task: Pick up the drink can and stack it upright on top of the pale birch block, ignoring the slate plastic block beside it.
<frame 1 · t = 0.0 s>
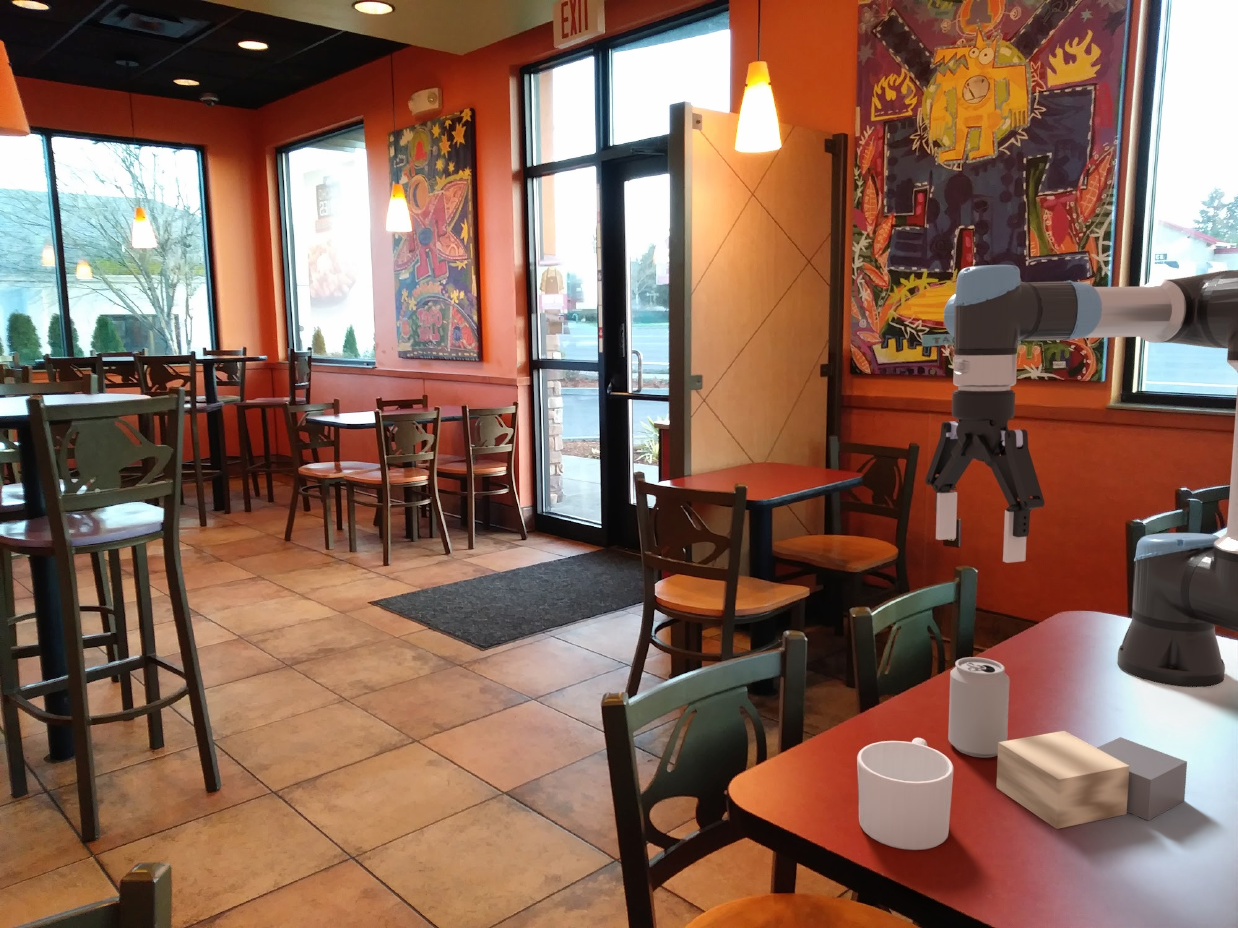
hand: (978, 549, 118), 28 cm above the table, fingers open, 13 cm apart
birch block: (1059, 800, 108), on the table
can: (976, 748, 122), on the table
slate block: (1132, 796, 109), on the table
mug: (906, 822, 105), on the table
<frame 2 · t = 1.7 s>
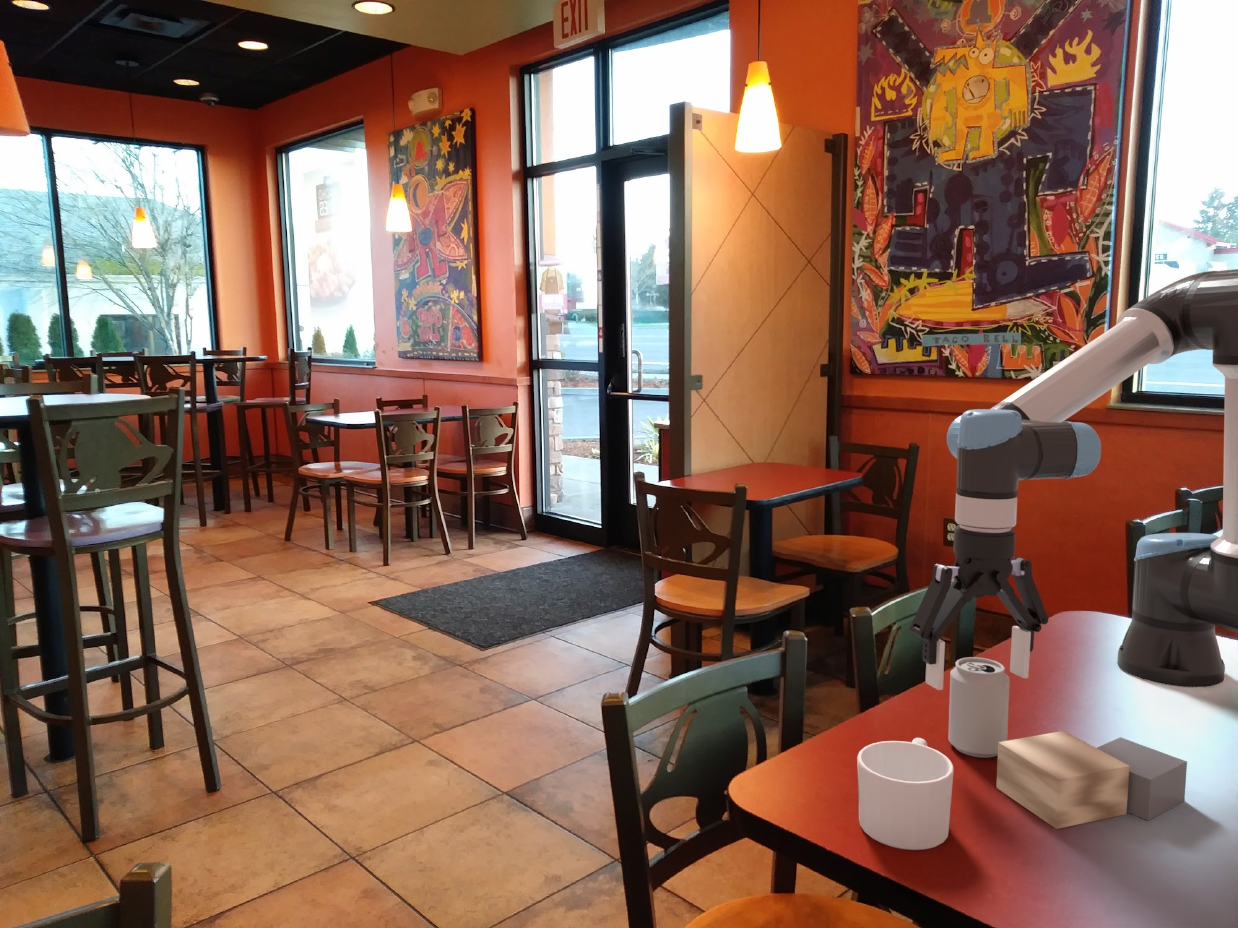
hand: (977, 680, 121), 10 cm above the table, fingers open, 13 cm apart
nothing on the table moved.
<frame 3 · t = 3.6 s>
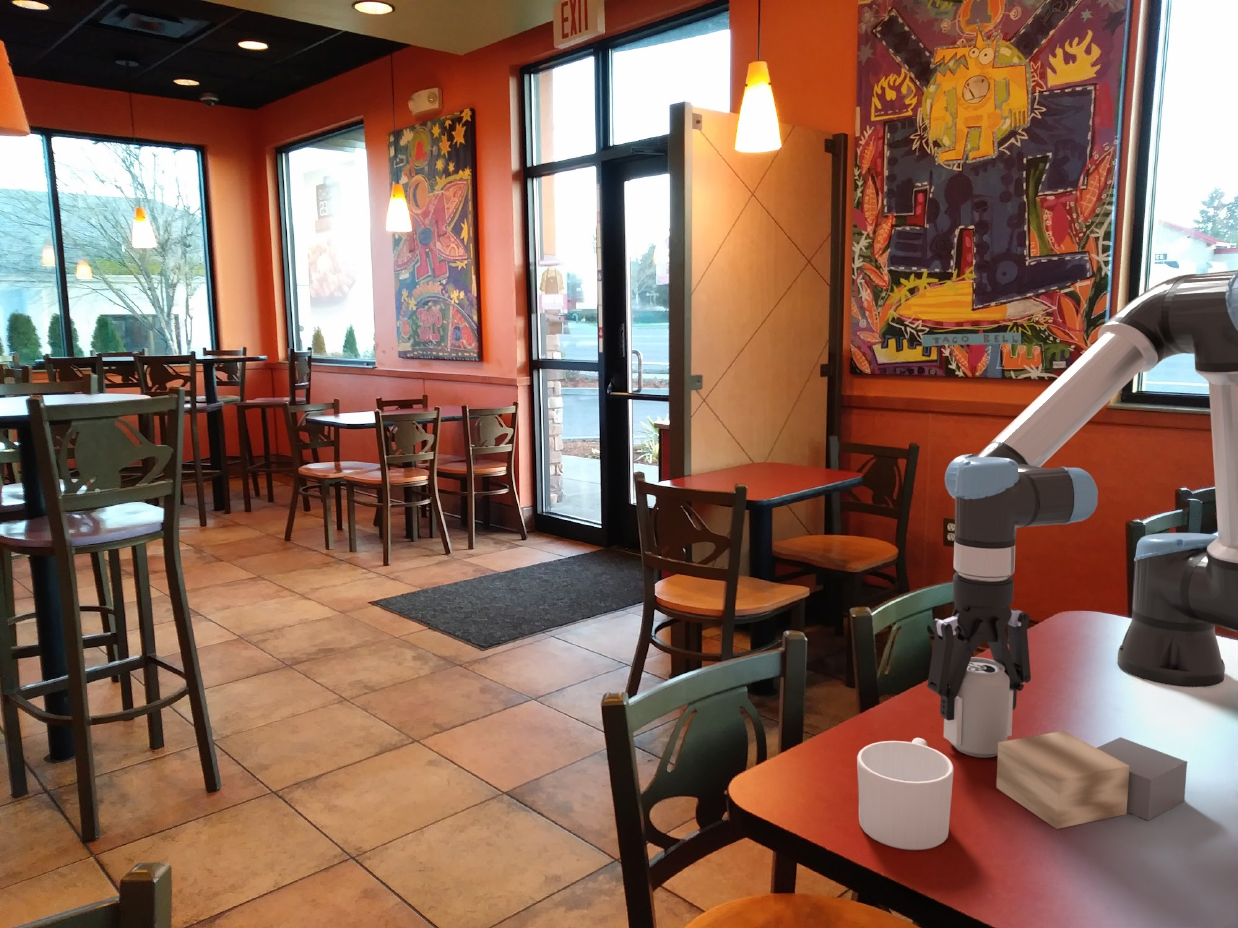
hand: (977, 736, 122), 2 cm above the table, fingers closed on can, 7 cm apart
can: (977, 748, 122), on the table, touching gripper
everything else where it was.
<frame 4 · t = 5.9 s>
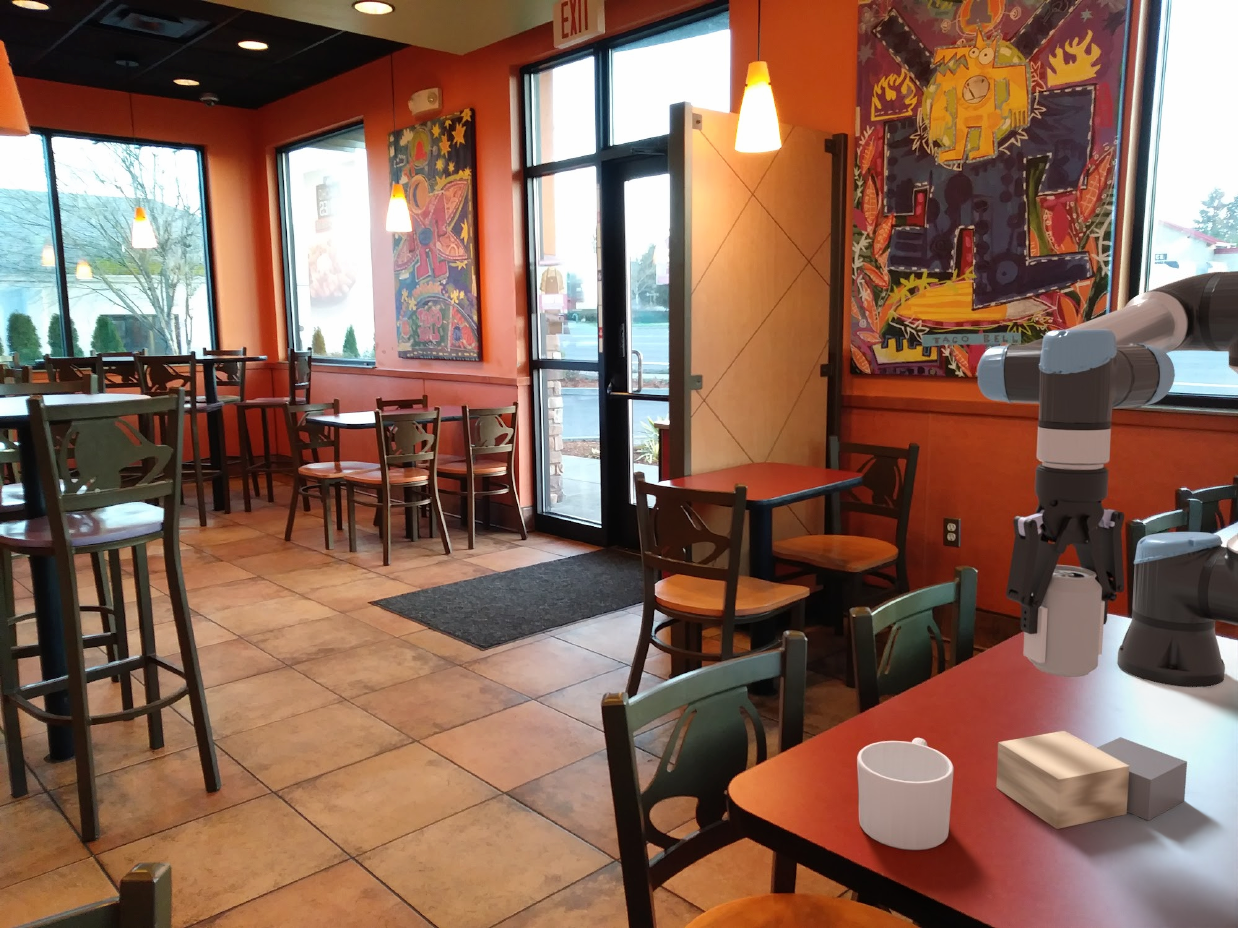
hand: (1062, 654, 106), 18 cm above the table, fingers closed on can, 7 cm apart
can: (1061, 669, 106), point 16 cm above the table, touching gripper
everything else where it was.
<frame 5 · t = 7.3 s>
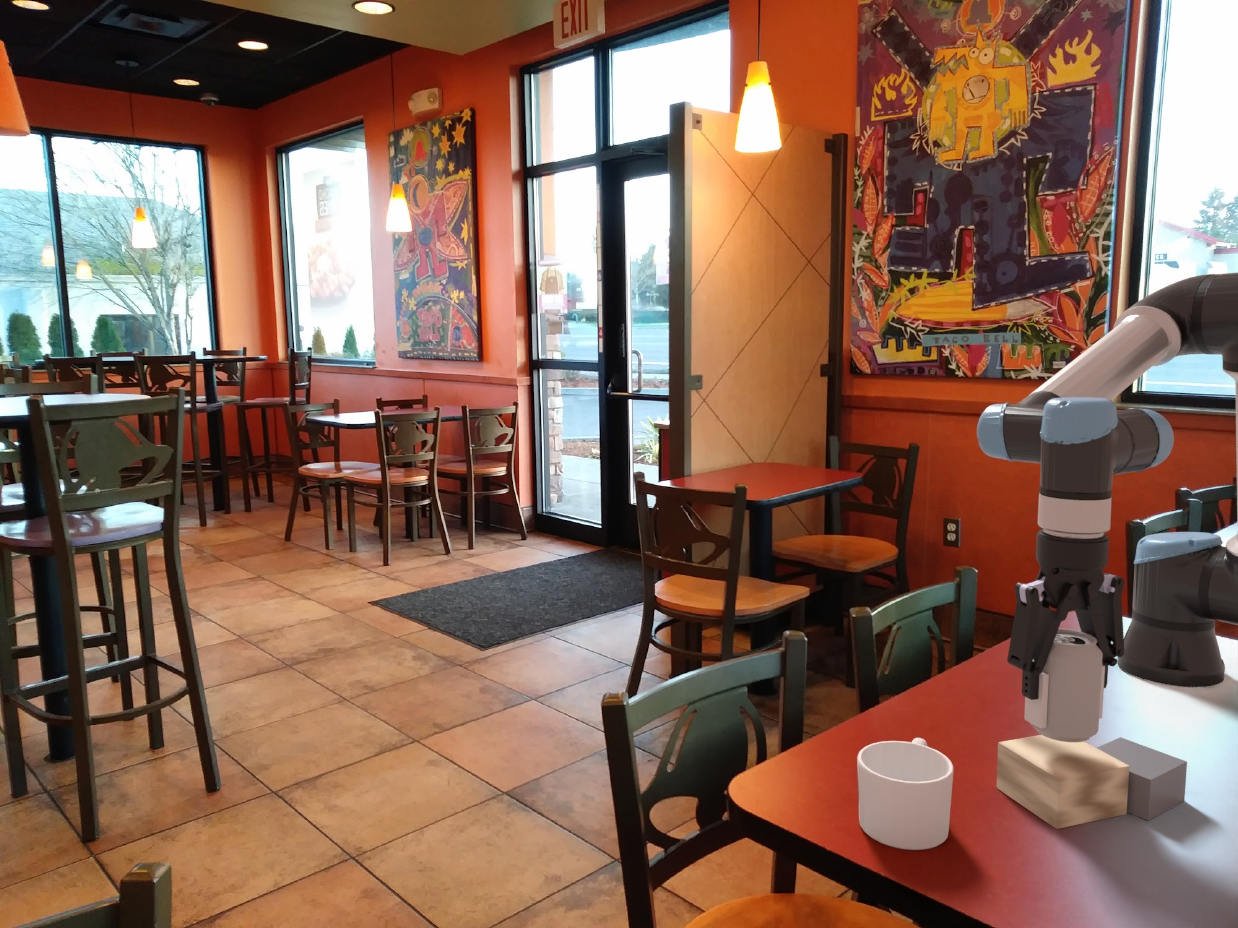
hand: (1063, 718, 107), 10 cm above the table, fingers closed on can, 7 cm apart
can: (1062, 733, 107), point 9 cm above the table, touching gripper
everything else where it was.
when the fingers open (9 cm above the table, at t = 8.4 s): can drops 1 cm, resting on birch block.
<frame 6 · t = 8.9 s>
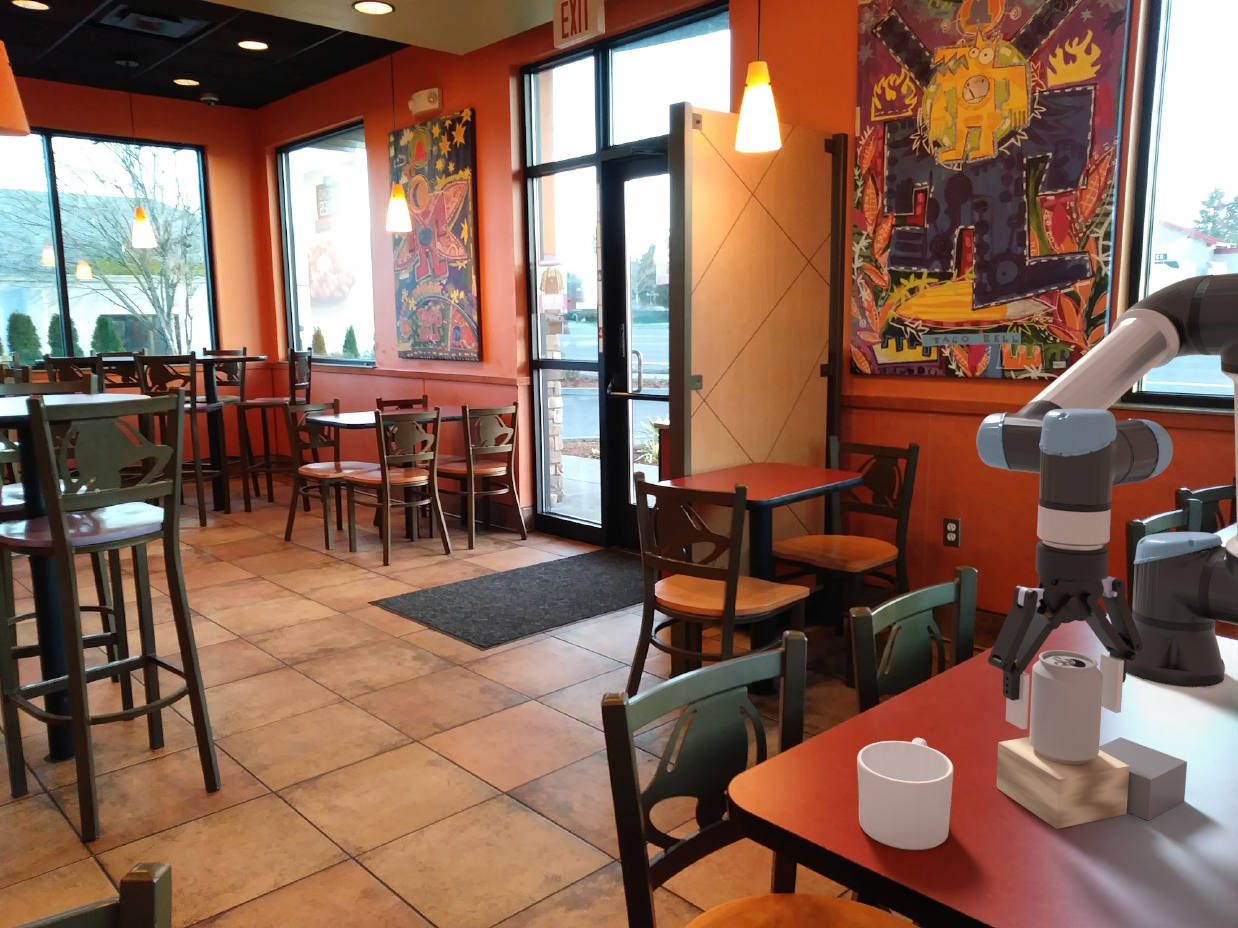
hand: (1063, 716, 107), 11 cm above the table, fingers open, 13 cm apart
can: (1063, 754, 107), point 6 cm above the table, touching birch block
everything else where it was.
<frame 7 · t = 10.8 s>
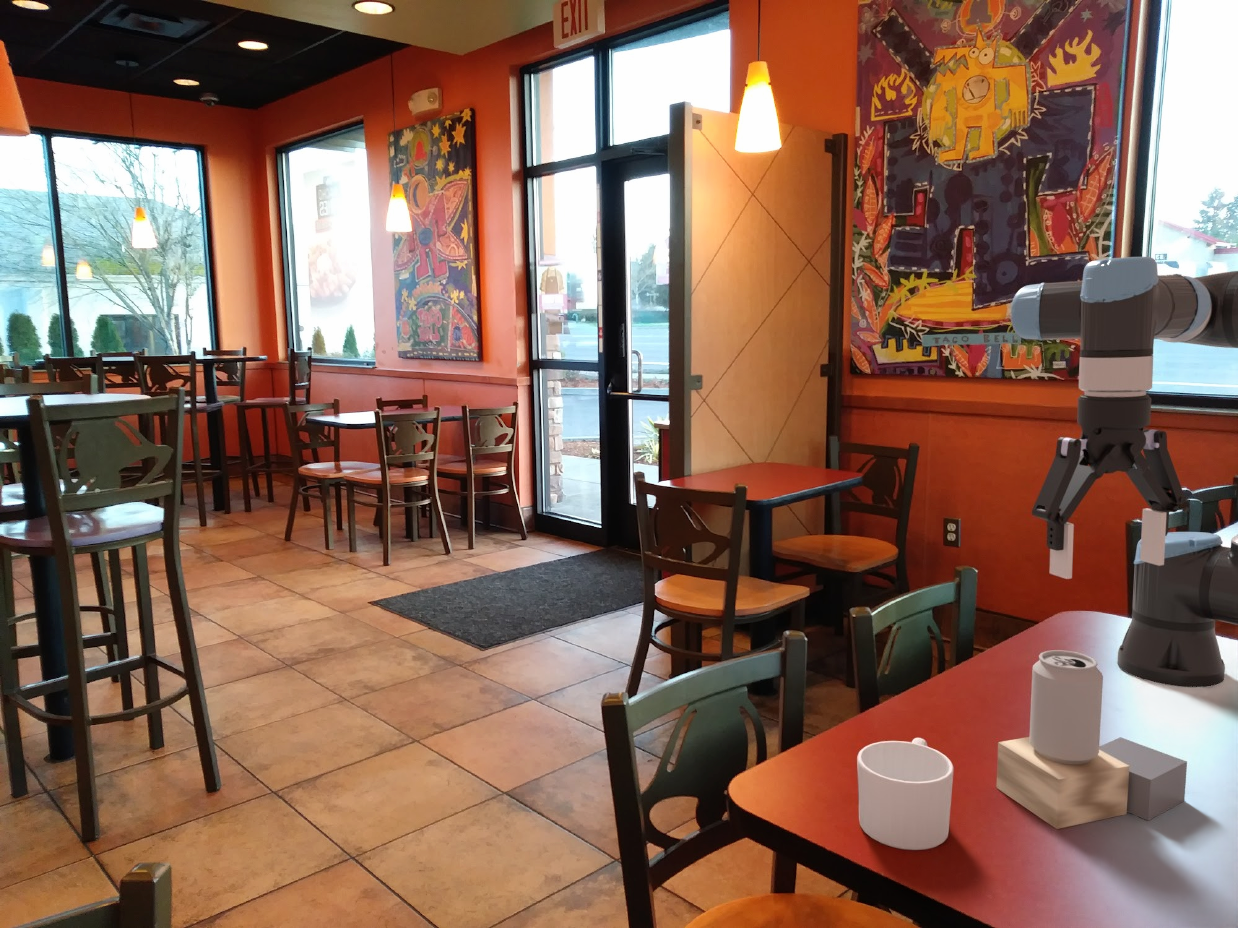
hand: (1107, 569, 108), 28 cm above the table, fingers open, 13 cm apart
nothing on the table moved.
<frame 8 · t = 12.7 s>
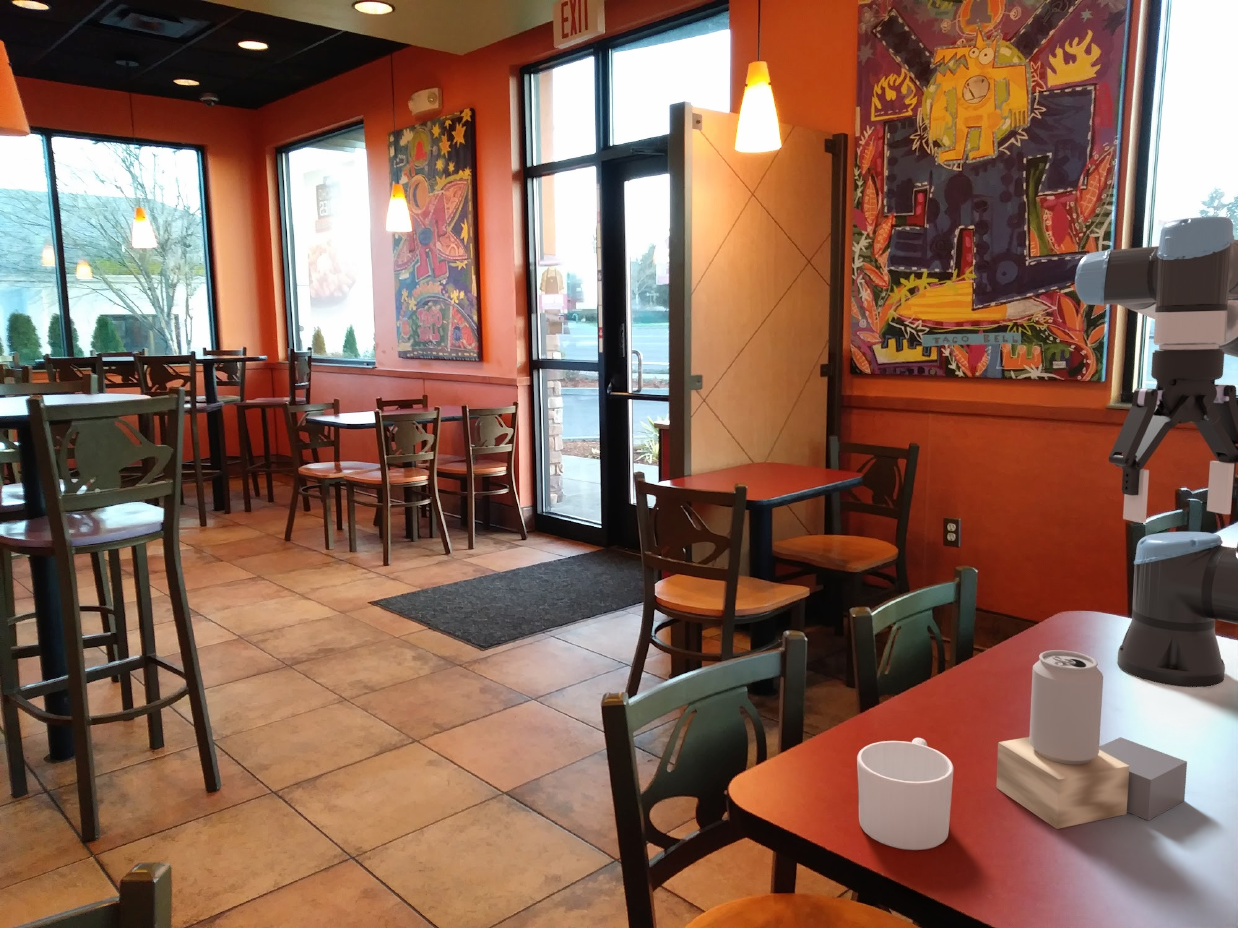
hand: (1177, 516, 113), 33 cm above the table, fingers open, 13 cm apart
nothing on the table moved.
at the end: can inside the target area on the birch block (0.3 cm from its centre), point 5.8 cm above the birch block's base; can tilted 0°; the gripper is holding nothing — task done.
